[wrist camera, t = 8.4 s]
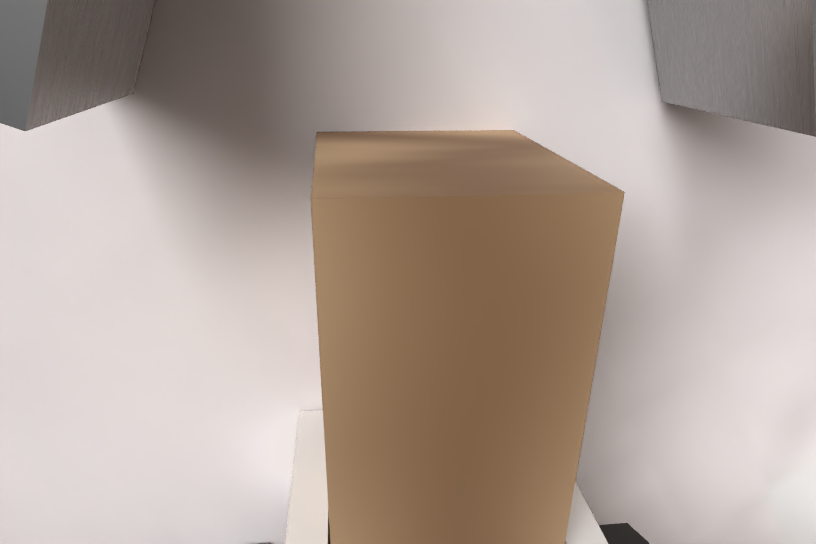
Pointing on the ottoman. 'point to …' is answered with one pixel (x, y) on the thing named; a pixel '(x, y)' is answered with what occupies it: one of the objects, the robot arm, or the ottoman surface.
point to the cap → (670, 22)
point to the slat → (456, 332)
